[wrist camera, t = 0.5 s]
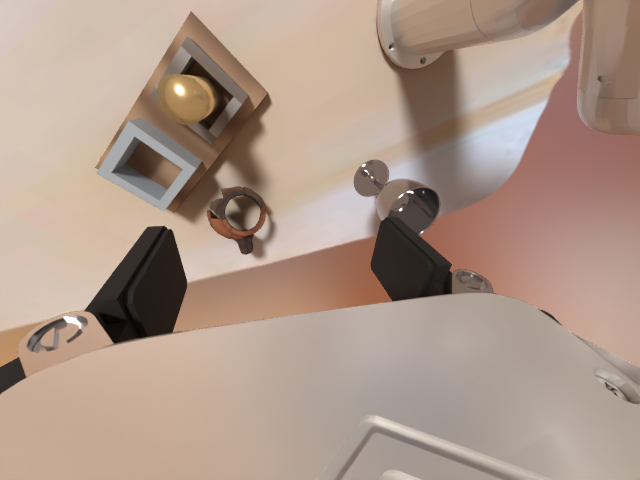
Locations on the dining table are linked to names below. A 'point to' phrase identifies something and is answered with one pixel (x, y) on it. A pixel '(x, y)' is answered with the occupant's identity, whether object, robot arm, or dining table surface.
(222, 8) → the dining table surface
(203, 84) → the brass cylinder
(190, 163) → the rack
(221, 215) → the pottery mug
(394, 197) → the wine glass
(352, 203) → the dining table surface
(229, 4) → the dining table surface
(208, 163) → the tool board
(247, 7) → the dining table surface
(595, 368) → the robot arm
